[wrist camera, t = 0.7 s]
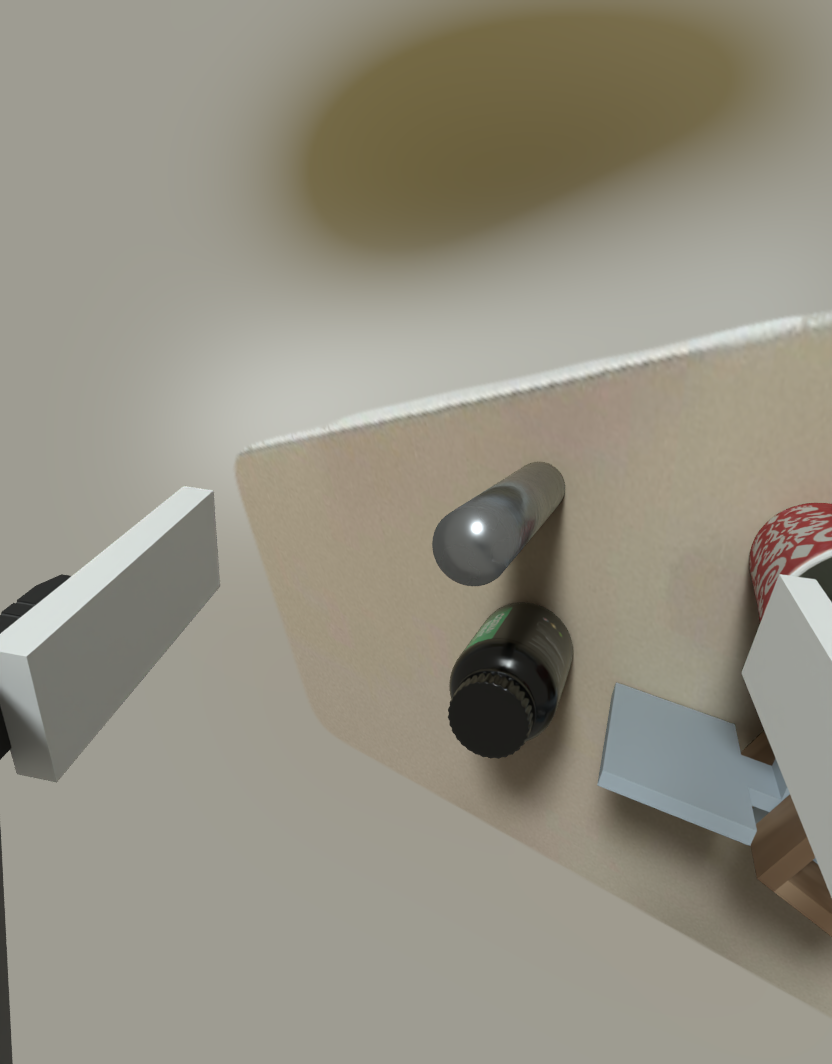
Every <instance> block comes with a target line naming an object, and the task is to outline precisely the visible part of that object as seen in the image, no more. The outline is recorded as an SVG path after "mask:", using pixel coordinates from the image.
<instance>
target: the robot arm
mask: <svg viewBox="0 0 832 1064" xmlns="http://www.w3.org/2000/svg"><path fill="white" fill-rule="evenodd" d="M219 587H220V578H219V564H218V549H217V535H216V521H215V506H214V492H213V490H206V489H200V488H193V487H186V486H183V487H182V488H181V489H180V490H178V491H177V492H176V493H175V494H173V495H172V496H171V497H170V498H168V499H167V500H166V501H165V502H163V503H162V504H161V505H160V506H158V507H157V508H156V509H155V510H153V511H152V512H151V513H150V514H149V515H147V516H146V517H145V518H143V519H142V520H141V521H140V522H139V523H137V524H136V525H135V526H134V527H132V528H131V529H130V530H129V531H127V532H126V533H125V534H124V535H122V536H121V537H120V538H119V539H117V540H116V541H115V542H114V543H112V544H111V545H110V546H109V547H107V548H106V549H105V550H104V551H102V552H101V553H100V554H99V555H97V556H96V557H95V558H94V559H93V560H91V561H90V562H89V563H88V564H86V565H85V566H84V567H83V568H81V569H80V570H79V571H78V572H76V573H75V574H74V575H73V576H68V575H59V576H57V577H55V578H53V579H50V580H48V581H46V582H43V583H41V584H39V585H36V586H35V587H34V588H32V589H31V590H30V591H29V592H27V593H26V594H25V595H23V596H22V597H21V598H19V599H18V600H17V603H13V604H11V605H10V606H9V607H7V608H6V609H5V610H4V611H2V613H1V615H0V759H1V758H2V757H3V756H4V755H5V754H6V753H7V752H8V751H9V750H10V751H11V754H12V758H13V762H14V765H15V769H16V773H17V774H19V775H24V776H29V777H34V778H39V779H43V780H48V781H53V782H57V781H58V780H59V779H60V778H61V777H62V775H63V774H64V773H65V772H66V771H67V770H68V768H69V767H70V766H71V765H72V764H73V762H74V761H75V760H76V759H77V758H78V756H79V755H80V754H81V753H82V752H83V750H84V749H85V748H86V747H87V746H88V744H89V743H90V742H91V741H92V740H93V738H94V737H95V736H96V735H97V734H98V732H99V731H100V730H101V729H102V728H103V726H104V725H105V724H106V723H107V721H108V720H109V719H110V718H111V717H112V716H113V714H114V713H115V712H116V711H117V710H118V708H119V707H120V706H121V705H122V704H123V702H124V701H125V700H126V699H127V698H128V696H129V695H130V694H131V693H132V692H133V690H134V689H135V688H136V687H137V686H138V684H139V683H140V682H141V681H142V680H143V678H144V677H145V676H146V675H147V674H148V672H149V671H150V670H151V669H152V667H153V666H154V665H155V664H156V663H157V662H158V660H159V659H160V658H161V657H162V655H163V654H164V653H165V652H166V651H167V649H168V648H169V647H170V646H171V645H172V644H173V642H174V641H175V640H176V639H177V638H178V636H179V635H180V634H181V633H182V632H183V630H184V629H185V628H186V627H187V626H188V624H189V623H190V622H191V621H192V620H193V618H194V617H195V616H196V615H197V614H198V612H199V611H200V610H201V609H202V608H203V606H204V605H205V604H206V603H207V602H208V600H209V599H210V598H211V597H212V596H213V594H214V593H215V592H216V591H217V589H218V588H219ZM742 676H743V678H744V681H745V683H746V686H747V688H748V691H749V693H750V696H751V698H752V701H753V703H754V706H755V708H756V711H757V713H758V716H759V718H760V721H761V723H762V726H763V728H764V730H765V733H766V735H767V738H768V740H769V743H770V745H771V748H772V750H773V753H774V755H775V758H776V760H777V763H778V765H779V768H780V770H781V773H782V775H783V778H784V780H785V783H786V785H787V788H788V790H789V793H790V795H791V798H792V800H793V803H794V805H795V808H796V810H797V813H798V815H799V818H800V820H801V823H802V825H803V828H804V830H805V833H806V835H807V838H808V840H809V843H810V845H811V848H812V850H813V853H814V855H815V858H816V860H817V863H818V865H819V868H820V870H821V873H822V875H823V878H824V880H825V883H826V885H827V888H828V890H829V893H830V895H831V898H832V602H831V601H830V599H829V598H828V596H827V595H826V593H825V592H824V591H823V589H822V588H821V586H820V585H819V583H818V582H817V580H816V579H809V578H802V577H795V576H789V575H782V574H779V576H778V578H777V581H776V584H775V586H774V589H773V591H772V594H771V597H770V599H769V602H768V605H767V607H766V610H765V612H764V615H763V618H762V620H761V623H760V626H759V628H758V631H757V633H756V636H755V639H754V641H753V644H752V646H751V649H750V652H749V654H748V657H747V660H746V662H745V665H744V667H743V670H742ZM0 1064H12V1046H11V1026H10V1006H9V987H8V967H7V947H6V928H5V908H4V888H3V868H2V849H1V830H0Z"/></svg>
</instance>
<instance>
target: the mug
mask: <svg viewBox="0 0 832 1064" xmlns="http://www.w3.org/2000/svg"><path fill="white" fill-rule="evenodd" d="M750 574H751V577H752V582H753V587H754V593H755V597H756V601H757V606H758V611H759V620H760V623H761V620H762V618H763V615H764V612H765V610H766V607H767V605H768V602H769V599H770V597H771V594H772V591H773V589H774V586H775V584H776V581H777V578H778V576H779V574H782V575H789V576H795V577H802V578H809V579H816V580H817V582H818V583H819V585H820V586H821V588H822V589H823V591H824V592H825V593H826V595H827V596H828V598H829V599H830V601H831V602H832V504H828V503H807V504H802V505H798V506H794V507H791V508H789V509H786V510H784V511H782V512H780V513H779V514H777V515H776V516H774V517H773V518H772V519H770V520H769V521H768V522H767V523H766V524H765V525H764V526H763V527H762V528H761V530H760V531H759V532H758V534H757V535H756V537H755V539H754V541H753V544H752V547H751V551H750Z"/></svg>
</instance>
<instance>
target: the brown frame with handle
mask: <svg viewBox="0 0 832 1064" xmlns="http://www.w3.org/2000/svg"><path fill="white" fill-rule="evenodd" d="M741 755H743V756H746V757H749V758H751V759H754V760H757V761H760V762H762V763H765V764H768V765H770V766H772V765H773V763H774V760H775V755H774V753H773V750H772V748H771V745H770V743H769V740H768V738H767V735H766V733H765V730H764V731H763V732H762V733H761V734H760V735H759V736H758V737H757V738H756V739H755V740H754V741H753V742H752V743H751V744H750V745H749V746H747V747H746V748H745V749H744V750H743V751H742V752H741ZM756 828H757V832H756V834H755V836H754V838H753V841H752V843H751V849H752V855H753V860H754V865H755V871H756V876H757V879H758V880H759V881H760V882H762V883H763V884H764V885H766V886H767V887H768V888H769V889H771V890H772V891H773V892H775V893H776V894H777V895H778V896H780V897H781V898H782V899H784V900H785V901H786V902H787V903H789V904H790V905H791V906H793V907H794V908H795V909H796V910H798V911H799V912H800V913H802V914H803V915H804V916H805V917H807V918H808V919H809V920H811V921H812V922H813V923H815V924H816V925H817V926H818V927H820V928H821V929H822V930H824V931H825V932H826V933H827V934H829V935H830V936H831V937H832V898H831V895H830V893H829V890H828V888H827V885H826V883H825V880H824V878H823V875H822V873H821V870H820V868H819V865H818V864H817V863H815V862H814V861H813V859H815V855H814V853H813V850H812V848H811V845H810V843H809V840H808V838H807V835H806V833H805V830H804V828H803V825H802V823H801V820H800V818H799V815H798V813H797V810H796V808H795V805H794V803H793V800H792V798H791V795H789V796H787V797H786V798H785V799H784V800H783V801H782V802H781V803H779V804H778V805H777V806H776V807H775V808H774V809H773V810H772V811H770V812H769V813H768V814H767V815H766V816H765V817H764V818H763V819H761V820H760V821H759V822H758V823H757V824H756Z"/></svg>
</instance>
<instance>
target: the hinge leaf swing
mask: <svg viewBox="0 0 832 1064" xmlns="http://www.w3.org/2000/svg"><path fill="white" fill-rule="evenodd" d="M598 786H601V787H603V788H606V789H608V790H611V791H613V792H616V793H618V794H621V795H623V796H626V797H628V798H631V799H633V800H636V801H638V802H641V803H643V804H646V805H648V806H651V807H653V808H656V809H658V810H661V811H663V812H666V813H668V814H671V815H673V816H676V817H678V818H681V819H683V820H686V821H688V822H691V823H693V824H696V825H698V826H701V827H703V828H706V829H708V830H711V831H713V832H716V833H718V834H721V835H723V836H726V837H728V838H731V839H733V840H736V841H738V842H741V843H744V844H746V845H749V846H750V845H751V843H752V841H753V838H754V836H755V834H756V832H757V828H756V824H757V823H758V822H759V821H760V820H761V819H763V818H764V817H765V816H766V815H767V814H768V813H769V812H770V811H772V810H773V809H774V808H775V807H776V806H777V805H778V804H779V803H781V802H782V801H783V800H784V799H785V798H786V797H787V796H789V795H790V793H789V790H788V788H787V785H786V783H785V780H784V778H783V775H782V773H781V770H780V768H779V765H778V763H777V760H776V758H775V760H774V763H773V765H772V766H770V765H768V764H765V763H762V762H760V761H757V760H754V759H751V758H749V757H746V756H743V755H741V752H740V747H739V742H738V737H737V733H736V728H735V724H733V723H730V722H727V721H724V720H721V719H718V718H716V717H713V716H710V715H707V714H704V713H701V712H699V711H696V710H693V709H690V708H687V707H684V706H682V705H679V704H676V703H673V702H670V701H668V700H665V699H662V698H659V697H656V696H653V695H651V694H648V693H645V692H642V691H639V690H636V689H634V688H631V687H628V686H625V685H622V684H620V683H617V682H616V684H615V687H614V690H613V693H612V698H611V704H610V710H609V716H608V723H607V729H606V735H605V741H604V747H603V754H602V760H601V766H600V772H599V779H598ZM752 806H754V808H753V809H752ZM813 861H814V862H815V863H817V860H816V858H815V859H813ZM817 864H818V863H817Z"/></svg>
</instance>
